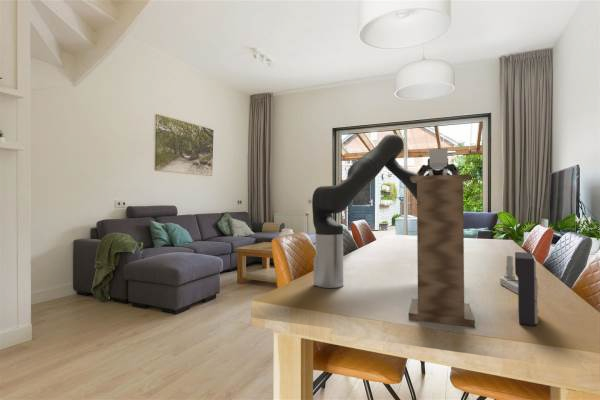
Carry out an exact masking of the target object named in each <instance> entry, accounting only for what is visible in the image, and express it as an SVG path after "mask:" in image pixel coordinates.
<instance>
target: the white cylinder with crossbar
mask: <svg viewBox="0 0 600 400" xmlns="http://www.w3.org/2000/svg"><path fill="white" fill-rule="evenodd" d="M428 151H429V155H428V157H429V158H428V159H429V164H430V167H432V169H433V170H441V169H444V167H446V166H447V163H448V164H449V158H448V148H447V147H446V148H445V147H444V148H431V149H429V150H428Z"/></svg>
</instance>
